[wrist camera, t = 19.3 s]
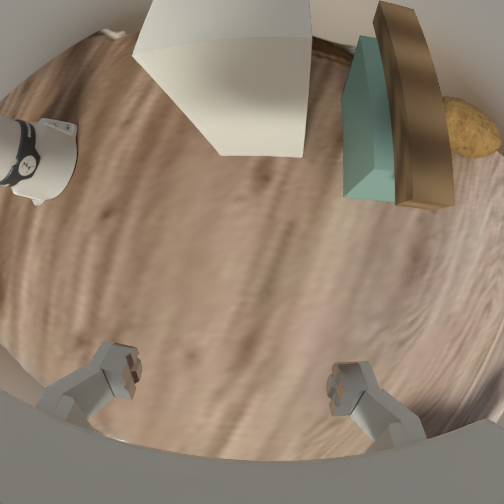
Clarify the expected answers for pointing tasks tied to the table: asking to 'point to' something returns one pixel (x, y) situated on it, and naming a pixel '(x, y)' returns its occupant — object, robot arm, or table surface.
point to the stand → (234, 69)
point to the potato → (470, 129)
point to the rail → (414, 111)
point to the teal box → (367, 128)
